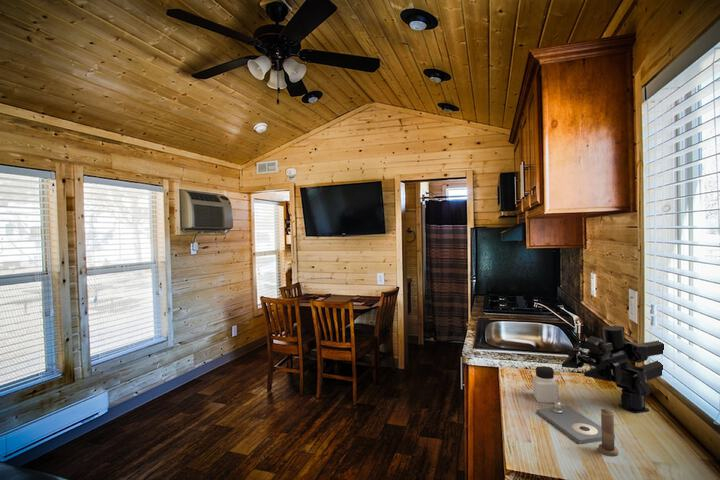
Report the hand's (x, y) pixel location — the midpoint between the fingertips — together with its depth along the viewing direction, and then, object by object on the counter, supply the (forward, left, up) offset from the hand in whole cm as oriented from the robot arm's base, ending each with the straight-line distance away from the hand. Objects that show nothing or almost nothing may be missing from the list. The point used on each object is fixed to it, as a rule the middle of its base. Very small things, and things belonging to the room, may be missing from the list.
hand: (572, 369), depth 124 cm
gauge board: (+3, +3, -17) cm, 17 cm away
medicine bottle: (-1, -16, -17) cm, 24 cm away
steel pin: (+3, -4, -16) cm, 16 cm away
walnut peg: (+4, +18, -17) cm, 25 cm away
